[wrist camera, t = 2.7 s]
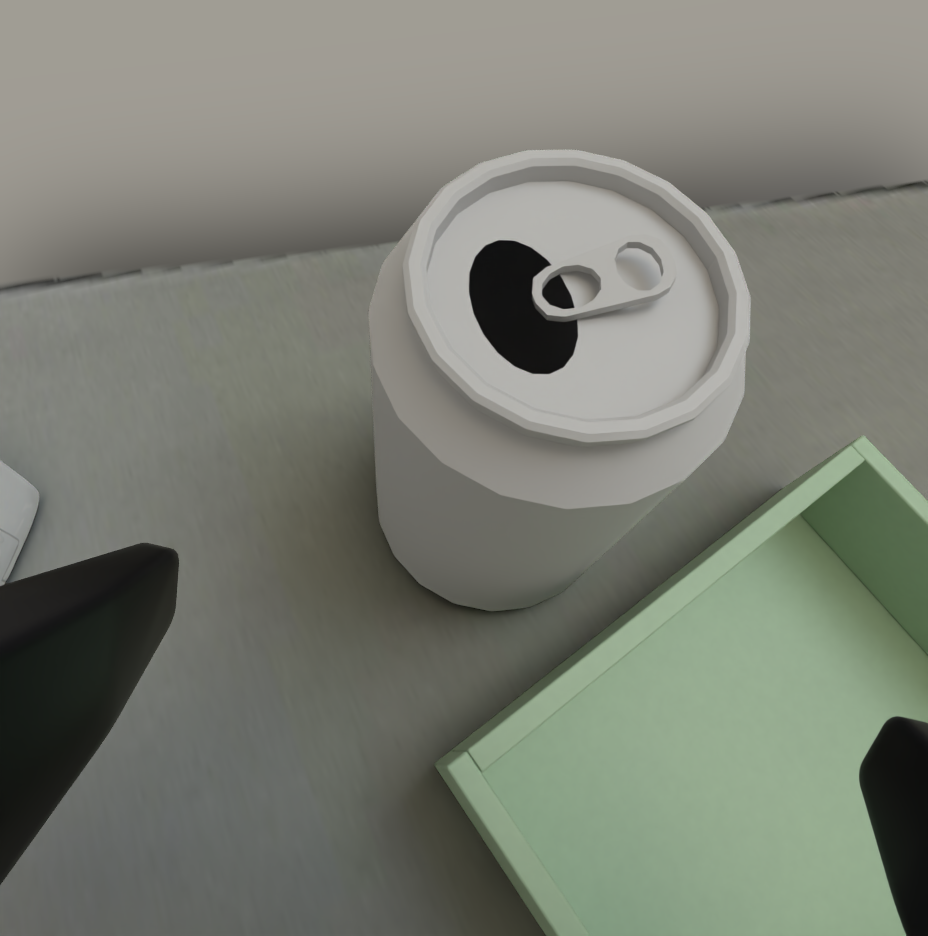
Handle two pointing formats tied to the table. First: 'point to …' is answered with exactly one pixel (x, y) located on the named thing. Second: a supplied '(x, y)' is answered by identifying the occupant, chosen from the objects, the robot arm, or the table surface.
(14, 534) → the photo printer
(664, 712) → the open box
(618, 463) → the can
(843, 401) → the table surface
